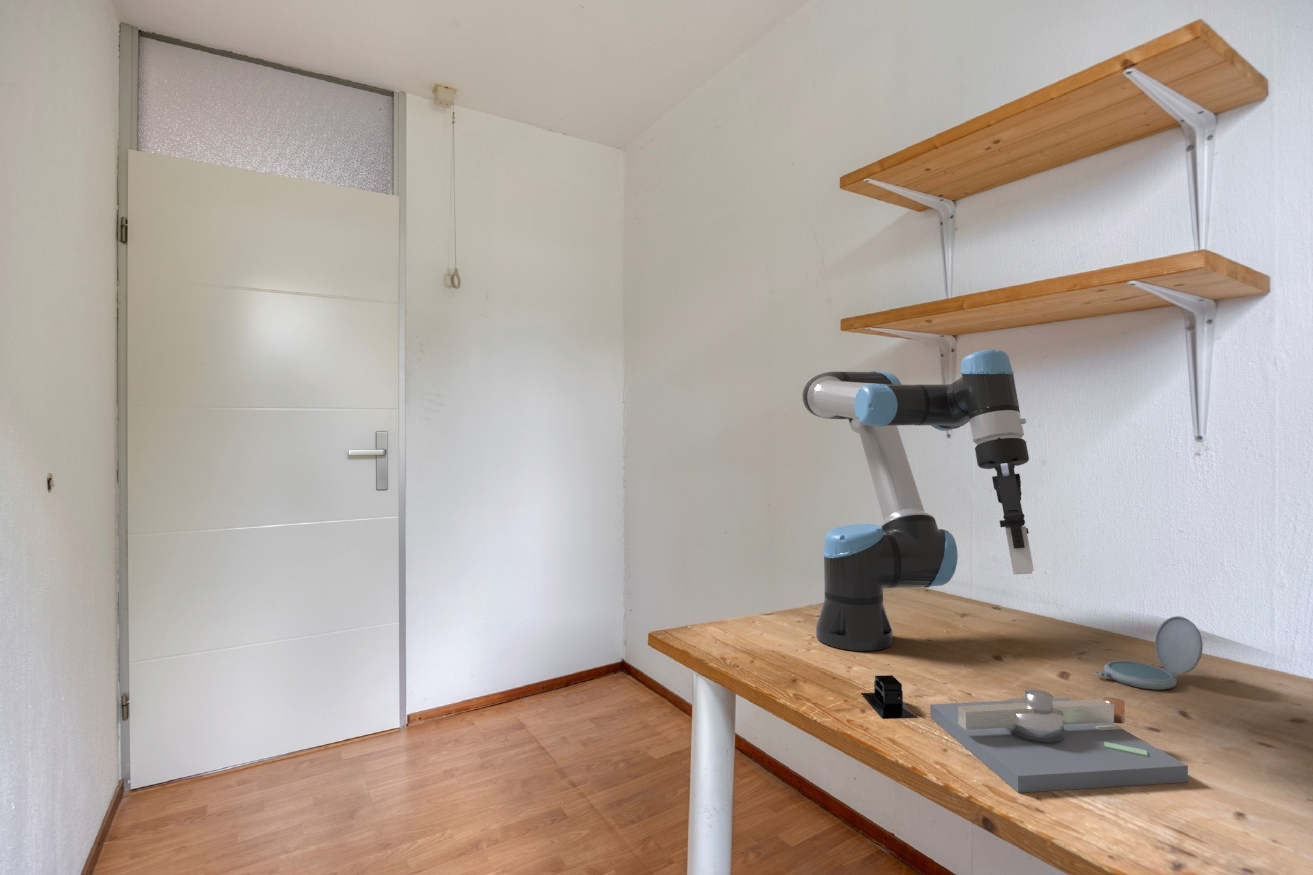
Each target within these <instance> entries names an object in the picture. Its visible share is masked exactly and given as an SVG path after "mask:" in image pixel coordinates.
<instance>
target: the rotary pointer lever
mask: <svg viewBox="0 0 1313 875" xmlns="http://www.w3.org/2000/svg"><path fill="white" fill-rule="evenodd" d="M1024 692H1025V693H1024V694H1025V695H1024V698H1023V697H1022V698H1021V697H1020V698H1019V697H1018V698H1017V697H1015V698H1009V699H1007V700H1004V701H1005V702H1004V704H992V705H972V706H958V724H959V725H960V726H962V727H963V728H964V729H965V730H974V729H993V728H1006V729H1007V730H1009V731H1010V732H1011V733H1013V734H1015V735H1017V736H1020V737H1023V738H1026V739H1029V740H1034V741H1040V742H1057V741H1060V740H1062V739H1063V738H1064V725H1068V724H1086V723H1105V722H1111V723H1113V724H1125V722H1126V715H1125V714H1126V705H1125V704H1126V702H1125V701H1124V700H1123V699H1120V698H1116V697H1112V696H1105V697H1103V698H1095V699H1094V698H1093V699H1077V700H1075V699H1074V700H1072V699H1071V700H1072V701H1053V694H1051V693H1050V692H1047V691H1045V690H1040V689H1034V688H1033V689H1026V690H1025V691H1024Z"/></svg>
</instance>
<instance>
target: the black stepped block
mask: <svg viewBox="0 0 1313 875" xmlns="http://www.w3.org/2000/svg"><path fill="white" fill-rule="evenodd" d="M873 682H874V683H873V685H874V686H873V687H874V688H873V690H874V692H860V693H861V694H860V695H861V696H862V695H863V696H862V697H863V698H864V699H865V701H866V702H867V703H868V704H869V705H870V706H871V707H872V709H874V711H875V713H877V715H878V716H879V717H880V718H881V719H882V720H888V719H889V720H894V719H895V720H896V719H918V718H919V717H918V716H917V715H916V714H915V713H914V712H913V711H912V710H911V708H909V707H908V706H907V705H906V703H904V698H903V697H904V696H903V695H904V693H903V692H904V691H903V690H902V689H903V685H902V683H901V682H900V681H899V680H898V679H897V678H896V677H895V676H894V675H891V674H890V675H889V674H887V675H885V674H884V675H875V676H874V681H873Z"/></svg>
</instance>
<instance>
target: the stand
mask: <svg viewBox="0 0 1313 875" xmlns="http://www.w3.org/2000/svg"><path fill="white" fill-rule="evenodd" d="M1005 701H1006V700H994V701H992V700H991V701H976V702H975V701H973V702H971V701H970V702H954V703H935V704H934V703H933V704H932V703H931V704H930V707H929V708H930V712H929V713H930V719H931V720H933V721H934V722H935V723H936V724H937V725H939V727H941V729H943V730H945V732H947V733H948V734H949V735H950V736H951V737H952V738H954V739H955V740H956V741H957V742H958V743H960V745H962V747H964V748H965V749H966V750H967V751H969V752H970V753H971V754H972V755H973V756H975V757H976V759H978V760H979V761H981V762H982V763H983V765H985V766H986V767H988V768H989V769H990V771H992V772H993V773H994V774H996V776H998V777H999V778H1000V779H1001V780H1003V781H1004V782H1005V783H1006V784H1007V785H1009V786H1010V787H1011V788H1012V789H1013V790H1014V791H1015V792H1017V794H1020V793H1021V794H1022V793H1035V792H1048V791H1049V792H1051V791H1067V790H1068V791H1069V790H1082V789H1083V790H1084V789H1098V788H1099V789H1100V788H1115V787H1130V786H1144V785H1145V786H1147V785H1163V784H1178V783H1179V784H1180V783H1189V766H1188V764H1186V763H1184V762H1182V761H1180V760H1178V759H1176V758H1175V757H1173V756H1172V755H1169V754H1168V753H1166V752H1165V751H1163V750H1161V749H1159V748H1158V747H1155V746H1154V745H1152V744H1150V743H1148V742H1147V741H1145V740H1143V739H1142V738H1140V737H1137V736H1136V735H1134V734H1132V733H1131V732H1129V731H1127V730H1126V729H1124V728H1123V727H1122V726H1120V725H1119V724H1116V723H1113V722H1105V723H1086V724H1068V725H1064V738H1063V739H1062V740H1060V741H1057V742H1040V741H1034V740H1029V739H1026V738H1023V737H1020V736H1017V735H1015V734H1013V733H1011V732H1010V731H1009V730H1007V729H1006V728H993V729H974V730H965V729H964V728H963V727H962V726H960V725H959V724H958V706H972V705H992V704H1004V702H1005ZM1053 701H1072V699H1070V698H1068V697H1056V698H1055V697H1054V698H1053Z"/></svg>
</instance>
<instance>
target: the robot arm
mask: <svg viewBox="0 0 1313 875" xmlns="http://www.w3.org/2000/svg"><path fill="white" fill-rule="evenodd" d="M1014 372H1015V371H1013V369H1012V365H1011V361H1010V358H1009V355H1008V354H1007V352H1005V351H1004V350H1000V349H986V350H985V349H984V350H980V351H976V352H972V353H970V354H968V355H966V356H965V357H963V359H962V360H961V363H960V374H961V377H959V378H958V379H956V380H955V381H953V382H952V383H949V384H902V382H901V381H900V379H899V377H897V376H896V375H895V374H894V373H891V372H887V371H880V370H873V371H872V370H871V371H827V372H823V373H820V374H817V375H815V376H814V377H812V378H811V379H809V381H808V382H806V384H805V386H804V388H803V390H802V402H803V405H804V407H805V408H806V410H807V411H808V412H809V413H810V414H812V415H814V416H816V417H818V418H822V419H826V420H827V419H829V420H848V421H849V425H850V428H851V431H853V432H854V433H856V434H858V435H859V437H860V441H861V444H862V447H863V450H864V454H865V458H866V462H867V465H868V470H869V473H870V476H871V480H872V483H873V487H874V490H875V494H876V497H877V498H876V499H877V501H878V505H879V508H880V512H881V515H882V516H881V517H882V518H883V522H882V524H881V525H878V524H873V523H862V524H861V523H857V524H847V525H843V526H837V527H834V528H832V529H831V530H829V531H827V533H826V534H825V537H824V547H823V552H822V553H823V559H824V560H823V563H824V565H823V566H824V569H823V570H824V571H823V572H824V576H823V577H824V581H823V582H824V601H823V604H822V608H821V610H820V613H819V616H818V619H817V623H816V626H815V632H816V633H815V634H816V635H815V637H816V639H817V640H818V641H819V642H821V643H823V644H825V645H827V646H829V645H830V647H832V648H835V649H837V648H838V649H840V650H841V649H842V650H846V649H847V650H848V651H855V652H857V651H858V652H871V651H872V652H873V651H881V650H884V649H887V648H889V647H891V646H892V645H893V641H894V640H893V634H894V633H893V630H892V625H891V623H890V620H889V617H888V615H887V612H886V608H885V604H884V589H899V588H901V589H902V588H903V589H904V588H905V589H906V588H908V589H909V588H924V589H925V588H926V589H928V588H930V587H941V586H944V585H946V584H948V583H949V582H951V580H952V579H953V577H954V575H955V573H956V569H957V565H958V558H959V556H958V555H959V554H958V552H959V551H958V547H957V542H956V539H955V538H954V536H953V534H952V533H951V532H950V531H949V530H946V529H941V528H940V529H939V527H938V524H937V521H936V518H935V517H934V516H933V515H932V514H930V513H928V512H926V511H925V509H924V506H923V502H922V499H921V497H920V496H921V495H920V493H919V490H918V487H917V483H916V480H915V478H914V474H913V472H912V471H913V470H912V469H911V466H910V462H909V459H908V456H907V454H906V453H907V452H906V450H905V446H904V444H903V440H902V437H901V434H900V431H899V428H898V426H931V427H932V428H934V429H936V430H938V431H941V432H946V431H952V430H955V429H959V428H961V427H963V426H965V425H967V424H968V423H969V424H970V429H971V430H970V431H971V436H972V440H973V441H972V442H973V443H974V444H976V445H975V447H974V451H975V452H974V453H975V457H976V464H977V467H979V468H980V469H984V470H985V469H986V470H992V469H994V470H995V471H996V475H995V476H991V479H992V484H993V488H994V490H995V491H996V492H995V493H996V496H997V501H998V503H999V504H1001V506H1002V511H1003V516H1002V517H1003V519H1001V520H999V526H1000V528H1004V529H1005V535H1006V539H1007V545H1008V546H1007V547H1008V550H1009V557H1010V562H1011V568H1012V574H1013V575H1031V574H1033V572H1035V569H1034V564H1033V558H1032V552H1031V548H1030V544H1029V543H1030V542H1029V536H1028V534H1030V532H1029V528H1027V527H1026V526H1025V524H1026V521H1025V514H1024V512H1023V508H1022V502H1021V501H1022V494H1023V493H1022V488H1021V487H1022V480H1021V475H1020V474H1021V473H1016V472H1015V468H1016V466H1017V467H1018V466H1022V465H1024V464H1026V463H1028V462H1029V460H1030V456H1029V451H1028V447H1027V446H1028V445H1027V441H1026V440H1025V439H1024V438H1023V437H1024V436H1025V433H1024V426H1023V425H1025V424H1026V423H1027V419H1026V418H1021V411H1020V404H1019V398H1018V393H1017V389H1016V383H1015V382H1016V381H1015V376H1014V374H1015V373H1014Z"/></svg>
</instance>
